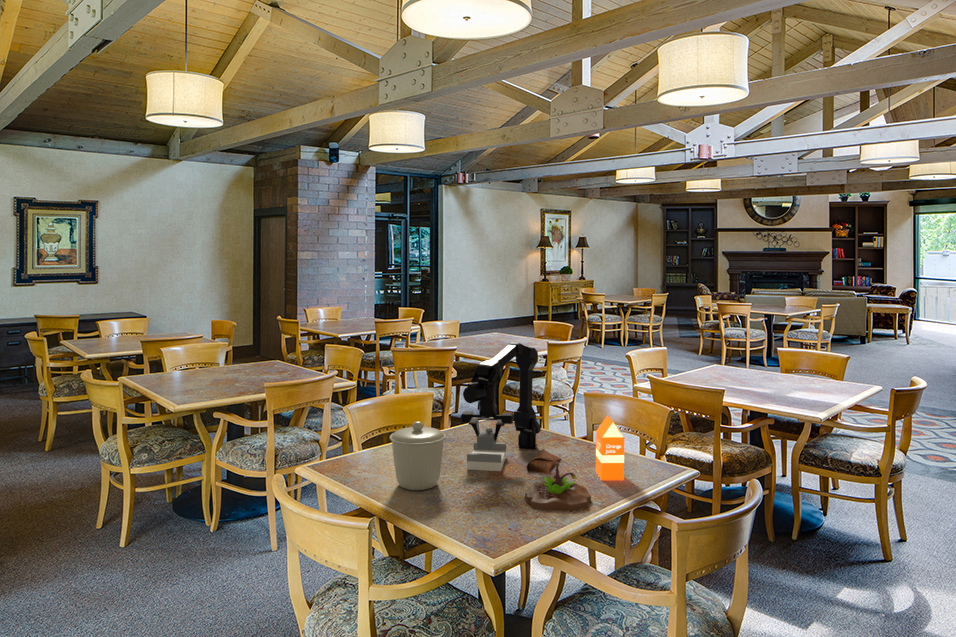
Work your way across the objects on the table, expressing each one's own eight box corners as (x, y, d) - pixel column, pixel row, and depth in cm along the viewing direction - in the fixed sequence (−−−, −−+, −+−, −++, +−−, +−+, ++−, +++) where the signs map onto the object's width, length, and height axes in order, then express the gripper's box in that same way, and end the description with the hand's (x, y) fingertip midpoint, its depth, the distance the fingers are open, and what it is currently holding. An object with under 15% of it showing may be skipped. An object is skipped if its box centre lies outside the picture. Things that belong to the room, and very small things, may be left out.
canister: (383, 493, 198) (382, 427, 196) (398, 474, 215) (397, 414, 214) (439, 496, 195) (439, 429, 193) (450, 477, 213) (450, 416, 211)
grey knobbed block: (492, 448, 222) (492, 434, 221) (476, 447, 223) (476, 433, 222) (497, 440, 232) (497, 427, 231) (482, 440, 233) (482, 426, 232)
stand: (506, 457, 235) (506, 442, 234) (500, 471, 219) (501, 455, 219) (474, 455, 237) (474, 441, 236) (466, 469, 221) (466, 454, 220)
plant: (589, 489, 202) (589, 455, 201) (592, 513, 183) (592, 475, 182) (526, 486, 205) (527, 453, 204) (523, 509, 186) (523, 472, 185)
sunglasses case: (550, 473, 216) (540, 456, 217) (533, 481, 219) (523, 464, 219) (562, 458, 233) (553, 442, 234) (546, 466, 235) (537, 450, 236)
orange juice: (617, 471, 219) (618, 415, 217) (624, 480, 210) (625, 421, 208) (595, 471, 219) (595, 415, 217) (600, 480, 210) (601, 421, 208)
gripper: (515, 394, 232) (515, 435, 234) (465, 392, 235) (465, 433, 237) (512, 400, 221) (512, 444, 223) (460, 399, 224) (460, 442, 226)
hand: (487, 440), depth 227 cm, fingers closed on grey knobbed block, 6 cm apart
